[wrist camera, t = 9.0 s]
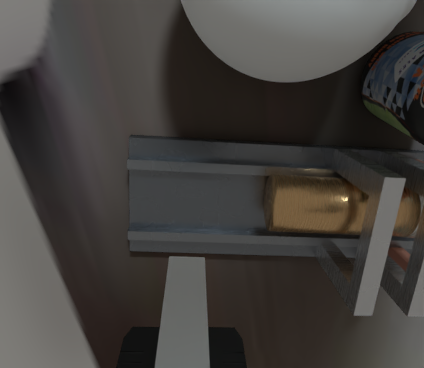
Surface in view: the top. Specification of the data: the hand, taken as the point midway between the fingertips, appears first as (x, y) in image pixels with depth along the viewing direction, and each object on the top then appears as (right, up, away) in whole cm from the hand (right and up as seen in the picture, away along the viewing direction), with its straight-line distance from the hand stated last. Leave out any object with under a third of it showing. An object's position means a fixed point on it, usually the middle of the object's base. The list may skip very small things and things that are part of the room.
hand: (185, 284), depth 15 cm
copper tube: (+11, +3, +12) cm, 17 cm away
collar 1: (+10, +3, +13) cm, 17 cm away
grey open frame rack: (+6, +3, +13) cm, 15 cm away
